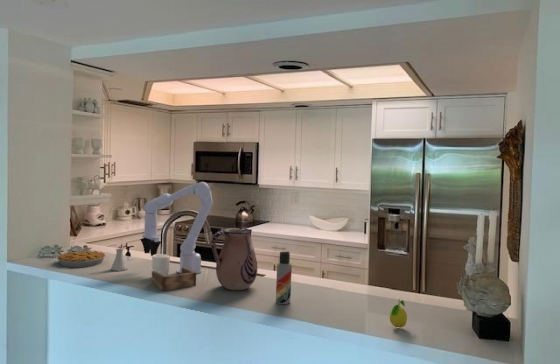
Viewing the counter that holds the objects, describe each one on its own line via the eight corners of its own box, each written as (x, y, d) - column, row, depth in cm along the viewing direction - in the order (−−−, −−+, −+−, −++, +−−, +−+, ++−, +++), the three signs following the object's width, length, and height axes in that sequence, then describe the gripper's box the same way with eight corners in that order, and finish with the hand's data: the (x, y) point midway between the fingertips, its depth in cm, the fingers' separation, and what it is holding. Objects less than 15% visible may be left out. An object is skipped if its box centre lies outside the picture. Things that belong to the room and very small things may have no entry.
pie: (114, 261, 225) (114, 252, 225) (80, 270, 205) (80, 260, 205) (82, 256, 233) (83, 247, 233) (47, 264, 213) (47, 254, 213)
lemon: (403, 325, 147) (405, 296, 147) (411, 331, 141) (412, 301, 141) (385, 325, 146) (386, 296, 146) (391, 332, 140) (392, 301, 140)
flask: (130, 269, 209) (130, 248, 209) (117, 272, 203) (118, 251, 203) (120, 267, 213) (121, 247, 213) (107, 269, 207) (108, 249, 207)
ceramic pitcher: (265, 288, 185) (267, 230, 184) (227, 298, 169) (229, 235, 168) (238, 280, 197) (240, 225, 196) (200, 288, 181) (202, 229, 180)
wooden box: (183, 279, 195) (184, 267, 194) (195, 285, 186) (196, 272, 186) (151, 284, 185) (152, 271, 185) (162, 290, 176) (163, 277, 176)
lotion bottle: (279, 305, 163) (281, 253, 162) (273, 301, 168) (274, 250, 167) (293, 303, 166) (294, 252, 165) (286, 299, 171) (287, 249, 170)
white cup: (158, 280, 191) (159, 258, 190) (147, 277, 195) (148, 255, 195) (173, 277, 197) (173, 255, 197) (162, 274, 202) (162, 253, 201)
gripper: (136, 224, 207) (136, 252, 208) (148, 228, 196) (148, 258, 197) (150, 223, 212) (150, 251, 212) (163, 227, 201) (162, 256, 201)
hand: (150, 254), depth 205 cm, fingers open, 7 cm apart
